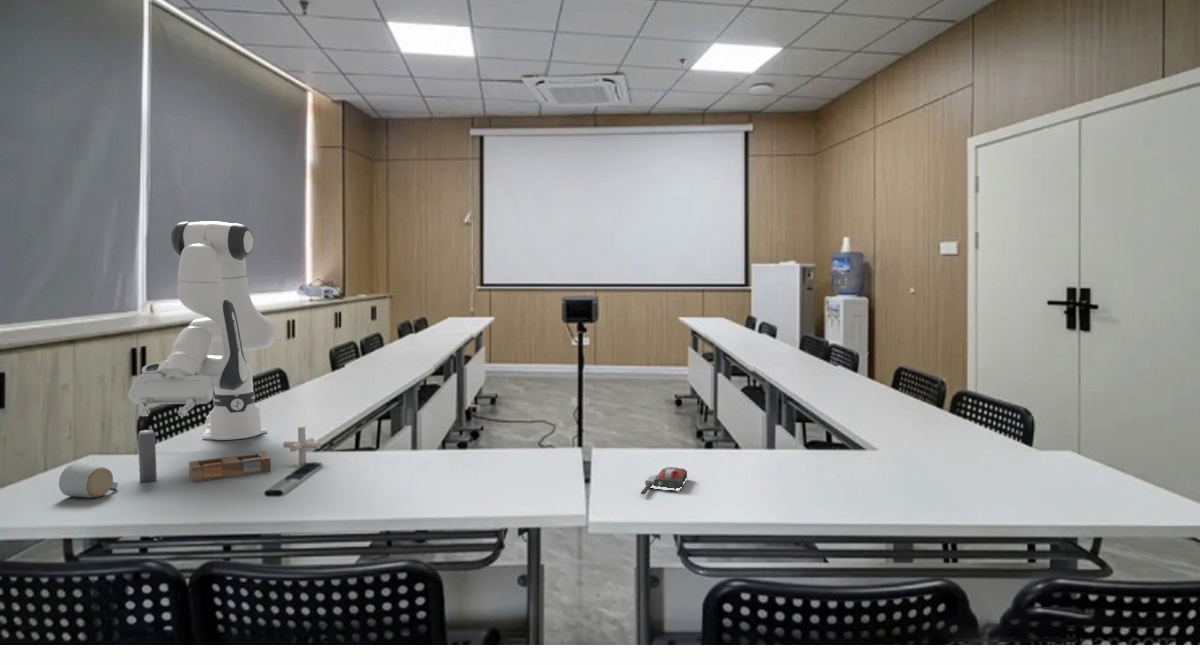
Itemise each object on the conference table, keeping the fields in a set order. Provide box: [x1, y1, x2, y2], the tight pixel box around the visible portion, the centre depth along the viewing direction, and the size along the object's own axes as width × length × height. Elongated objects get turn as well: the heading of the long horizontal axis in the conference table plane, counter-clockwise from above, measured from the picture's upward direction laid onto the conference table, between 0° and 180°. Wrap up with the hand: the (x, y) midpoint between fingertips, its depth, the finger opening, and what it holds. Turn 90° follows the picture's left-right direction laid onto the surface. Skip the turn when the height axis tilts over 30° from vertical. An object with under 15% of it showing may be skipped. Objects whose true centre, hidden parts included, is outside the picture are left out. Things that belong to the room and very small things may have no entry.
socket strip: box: [188, 451, 272, 482], centre depth 184 cm, size 8×18×4 cm, turn 125°
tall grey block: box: [137, 429, 158, 483], centre depth 177 cm, size 4×4×13 cm
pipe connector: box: [282, 426, 322, 464], centre depth 195 cm, size 10×10×10 cm
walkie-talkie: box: [640, 466, 688, 495], centre depth 172 cm, size 9×4×20 cm
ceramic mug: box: [58, 462, 119, 499], centre depth 166 cm, size 11×8×8 cm
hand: (162, 414), depth 184 cm, fingers open, 8 cm apart
